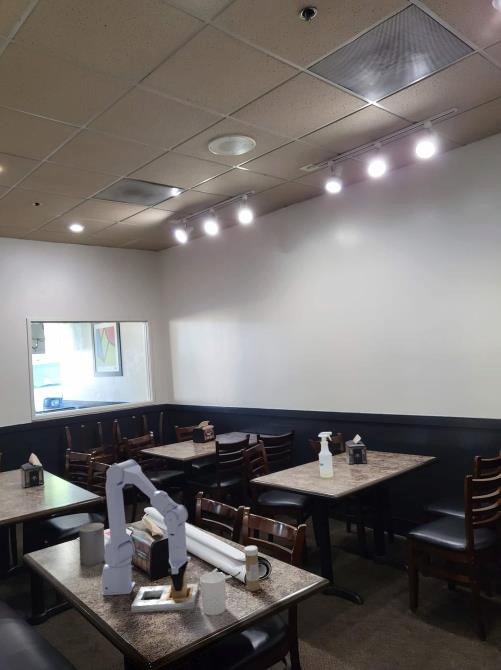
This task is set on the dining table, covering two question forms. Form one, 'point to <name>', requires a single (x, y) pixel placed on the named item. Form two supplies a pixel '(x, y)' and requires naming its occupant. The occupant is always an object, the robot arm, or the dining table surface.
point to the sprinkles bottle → (252, 567)
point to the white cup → (213, 592)
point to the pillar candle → (91, 544)
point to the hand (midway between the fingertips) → (179, 587)
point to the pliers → (216, 571)
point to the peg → (179, 593)
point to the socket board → (163, 599)
